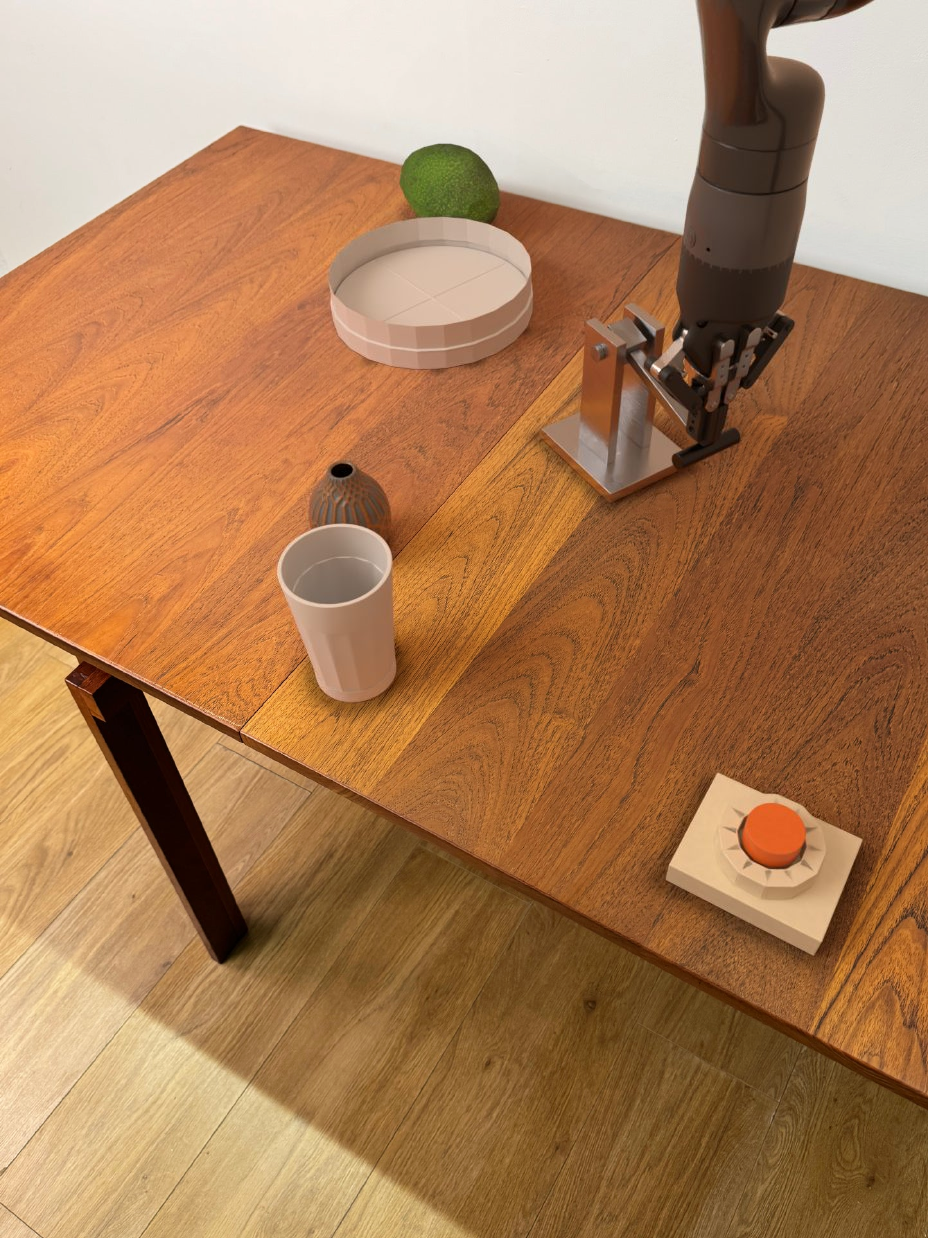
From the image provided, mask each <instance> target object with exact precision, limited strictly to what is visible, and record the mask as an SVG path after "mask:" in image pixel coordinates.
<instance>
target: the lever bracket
mask: <svg viewBox="0 0 928 1238" xmlns="http://www.w3.org/2000/svg"><path fill="white" fill-rule="evenodd" d="M627 317H629V318H630V319H631V321H632V322H633V323H634V324H635V326H636V327H637V328H638V330H639V331H640V332H641V333H642V335H643V336H644V337H645V338H646V340H647V341H646V344H645V346H644V348H643V351H642V352H643V353H644V355H645V356H646V357H649V356H650V355H652V354H654V355H656V356H657V357H659V358H660V357H661V356H662V355H663V351H664V341H665V333H666V326H665V324H663V322H662V323H661V321H659V320H658V319H656V318H655V317H654V316H652V315H651V314H650V313H649V312H647V311H646V310H644V309H643V308H641V307H640V306H639V305H637V303H635V302H631V303H628V304H626V305H624V306H623V314H622V319H624V318H627ZM584 329H585V330H584V343H583V344H584V345H583V359H582V360H583V362H582V375H581V377H582V378H581V394H580V395H581V396H580V411H578V412H576V413H573V414H571V415H569V416H566V417H564V418H562V419H560V420H557V421H554V422H553V423H550V424H548V425H546V426H543V427H541V428H540V439H542V441H544V442H545V443H546V445H547V446H548V447H550V448H551V449H552V450H553V451H554V452H555V453H556V454H557V455H558V456H559V457H561V459H562V460H563V461H565V462H566V463H567V464H568V465H569V466H570V467H571V469H573V470H574V471H575V472H576V473H577V474H578V475H579V476H580V477H581V478H583V479H584V480H585V481H586V482H587V483H588V484H589V485H590V486H591V487H592V488H593V489H594V490H595V491H597V493H598V494H599V495H600V496H601V497H603V499H604V500H606V502H608V504H612V503H614V502H617V501H619V500H621V499H623V498H625V497H627V496H630V495H631V494H633V493H635V492H638V491H639V490H641V489H644V488H646V487H648V486H650V485H652V484H654V483H656V482H659V481H661V480H662V479H664V478H667V477H669V476H671V475H673V474H675V473H677V472H680V471H681V470H677V469H676V468H675V467H674V466H673V463H672V455H673V454H675V453H677V452H679V451H681V450H683V449H682V448H681V447H679V446H678V444H676V443H675V442H674V441H673V440H672V439H670V438H669V437H668V436H667V435H665V434H664V433H663V432H662V431H660V429H658V428H657V427H656V426H655V425H654V419H655V412H656V404H657V399H656V398H655V396H654V395H653V394H652V393H651V391H650V390H649V389H648V387H647V386H646V385H645V383H644V382H643V381H642V380H641V378H640V377H639V376H638V374H637V373H636V372H635V370H634V369H633V368H632V367H631V365H630V364H629V363H628V364H626V365H625V354H626V344H627V343H626V342H625V341H624V340H623V339H621V338H620V337H619V336H618V335H616V334H615V333H614V332H613V331H611V330H610V329H609V328H607V325H605V324H604V323H602V321H600V320H599V319H597V318H596V317H593V318H591V319H588V320H586V321H585V326H584Z"/></svg>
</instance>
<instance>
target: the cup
mask: <svg viewBox="0 0 928 1238" xmlns="http://www.w3.org/2000/svg"><path fill="white" fill-rule="evenodd" d="M276 574H277V580H278V582H279V585H280V587H281V590H282V592H283V595H284V597H285V599H286V603H287V604H288V608H289V610H290V612H291V614H292V616H293V619H294V622H295V624H296V626H297V627H296V628H297V630H298V632H299V635H300V637H301V640H302V642H303V645H304V647H305V651H306V652H307V655H308V658H309V660H310V663H311V666H312V668H313V671H314V674H315V679H316V682H317V684H318V687H319V688H320V689H321V690H322V692H323V693H324V694H326V695H327V696H329V697H330V698H332V699H333V700H336V701H338V702H339V701H340V702H344V703H360V702H361V703H362V702H365V701H368V700H371V699H374V698H376V697H377V696H379V695H381V694H382V693H383V692H385V691H386V690H387V689H388V688H389V687H390V686H391V685H392V683H393V681H394V679H395V677H396V674H397V659H396V650H395V647H396V646H395V621H394V619H395V618H394V581H393V580H394V578H393V576H394V574H393V555H392V551H391V548H390V546H389V545H388V543H387V541H386V542H385V540H384V539H383V538H382V537H381V536H379V535H378V534H377V533H375V532H373V531H372V530H370V529H367V528H365V527H361V526H358V525H352V524H331V525H325V526H321V527H318V528H315V529H312V530H311V529H309V530H307V531H305V532H304V533H302V534H300V535H298V536H297V537H296V538H295V539H293V540H292V541H291V542H290V543H289V544H288V545H287V546H286V547H285V549H284V550H283V551H282V553H281V554H280V557H279V559H278V562H277V567H276Z"/></svg>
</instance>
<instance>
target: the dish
mask: <svg viewBox="0 0 928 1238" xmlns="http://www.w3.org/2000/svg"><path fill="white" fill-rule="evenodd" d="M327 281H328V286H329V292H330V302H329V304H330V310H331V317H332V323H333V325H334V327H335V331H336V334H337V337H339V338H340V340H341V341H342V342H343V343H344V344H345V345H346V346H347V347H348V348H349V349H350V350H351V351H353V352H355V353H357V354H359V355H360V356H362V357H364V358H366V359H367V360H370V361H372V362H376V363H378V364H379V363H380V364H383V365H386V366H390V367H395V368H401V369H402V368H403V369H412V370H435V369H438V370H439V369H448V368H453V367H458V366H463V365H468V364H472V363H476V362H478V361H481V360H483V359H486V358H488V357H491V356H493V355H496V354H498V353H499V352H501V351H502V350H504V349H505V348H507V347H508V346H511V344H513V343H514V342H516V341H517V339H518V338H519V337H520V336H521V335H522V334H523V333H524V332H525V330H526V329H528V327H529V323H530V320H531V318H532V314H533V310H534V309H533V307H534V305H533V304H534V290H533V283H532V281H533V280H532V263H531V256H530V254H529V253H528V251H527V250H526V248H525V246H524V245H523V243H522V242H521V241H519V240H518V239H517V238H515V237H514V236H513V235H511V234H510V233H509V232H507V231H506V230H503V229H501V228H499V227H496V226H494V225H492V224H491V225H489V224H486V223H481V222H477V221H473V220H469V219H461V218H450V217H430V218H418V217H415V218H411V219H406V220H399V221H394V222H391V223H388V224H384V225H381V226H378V227H376V228H373V229H370V230H368V231H367V232H365V233H362V234H361V235H359V236H357V237H355V238H354V239H352V240H351V241H350V242H348V243H347V244H346V245H345V246H344V247H343V248H342V249H340V250H339V251H338V252H337V254H336V256H335V257H334V259H333V260H332V262H331V263H330V265H329V271H328V279H327Z"/></svg>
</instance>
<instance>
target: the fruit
mask: <svg viewBox="0 0 928 1238" xmlns="http://www.w3.org/2000/svg"><path fill="white" fill-rule="evenodd" d="M399 186H400V189H401V191H402V193H403V196H404V198H405V200H406V202H407V204H408V205H409V207H410V208H411V209H412V211H413V212H414V214H415V215H416V217H417V218H430V217H450V218H461V219H469V220H473V221H477V222H481V223H486V224H489V225H492V224H493V222H494V221H495V220H496V219H497V217H498V214H499V210H500V206H501V195H500V194H501V193H500V189H499V184H498V182H497V180H496V177H495V176H494V174H493V171H492V170H491V169H490V167H489V166H488V164H487V163H486V162H485V160H483V159H482V157H481V156H480V155H479V154H478V153H476V152H474V151H473V150H472V149H471V148H467V147H465V146H462V145H459V144H454V143H435V144H431V145H426V146H423V147H420V148H418V149H416V150H414V151H412V152H411V153H410V154H409V155H408V156H407V157H406V159H405V160H404V162H403V163H402V165H401V170H400V177H399Z"/></svg>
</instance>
